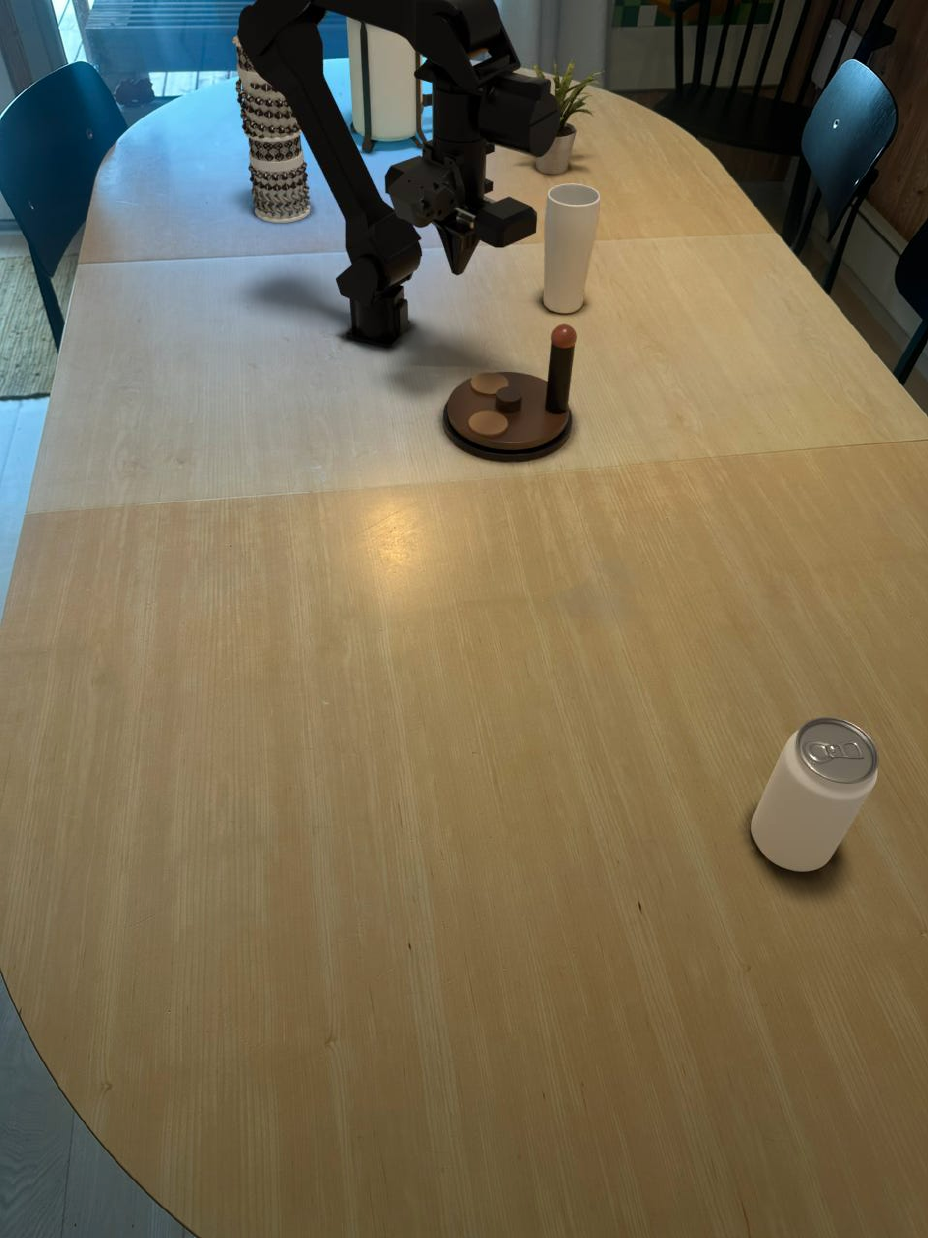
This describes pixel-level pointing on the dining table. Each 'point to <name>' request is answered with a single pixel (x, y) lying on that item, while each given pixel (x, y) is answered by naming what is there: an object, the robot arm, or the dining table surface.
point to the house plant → (563, 120)
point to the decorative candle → (271, 147)
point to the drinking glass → (568, 244)
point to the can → (815, 793)
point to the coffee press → (384, 86)
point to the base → (506, 454)
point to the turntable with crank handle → (517, 401)
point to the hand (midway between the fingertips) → (457, 273)
